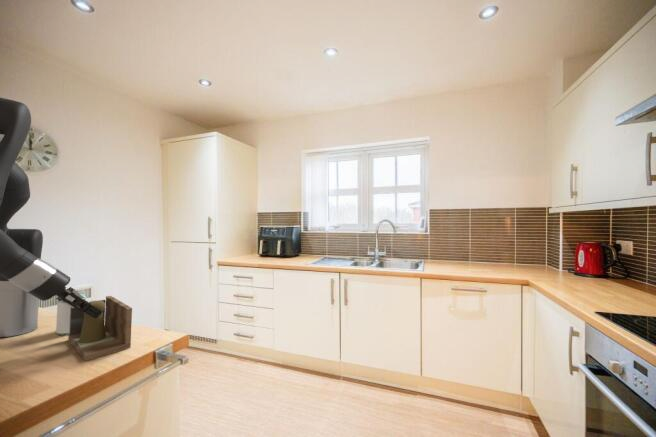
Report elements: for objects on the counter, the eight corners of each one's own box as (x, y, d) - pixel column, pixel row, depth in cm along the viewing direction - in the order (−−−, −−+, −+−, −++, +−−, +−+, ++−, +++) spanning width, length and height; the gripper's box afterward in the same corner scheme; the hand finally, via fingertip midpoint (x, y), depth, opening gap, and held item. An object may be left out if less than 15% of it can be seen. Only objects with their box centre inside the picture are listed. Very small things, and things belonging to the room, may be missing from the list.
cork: (80, 345, 76) (81, 305, 76) (78, 338, 80) (79, 301, 80) (107, 338, 80) (109, 301, 80) (104, 332, 84) (105, 297, 85)
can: (59, 337, 84) (61, 298, 84) (53, 332, 88) (54, 295, 88) (88, 330, 90) (90, 294, 90) (81, 325, 94) (82, 290, 94)
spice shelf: (68, 339, 83) (69, 302, 83) (109, 330, 91) (110, 295, 91) (85, 361, 71) (87, 316, 71) (130, 347, 79) (132, 308, 79)
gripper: (60, 271, 69) (114, 306, 78) (50, 264, 77) (99, 296, 86) (28, 296, 65) (89, 330, 74) (21, 286, 73) (76, 317, 82)
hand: (94, 312), depth 80 cm, fingers open, 8 cm apart
